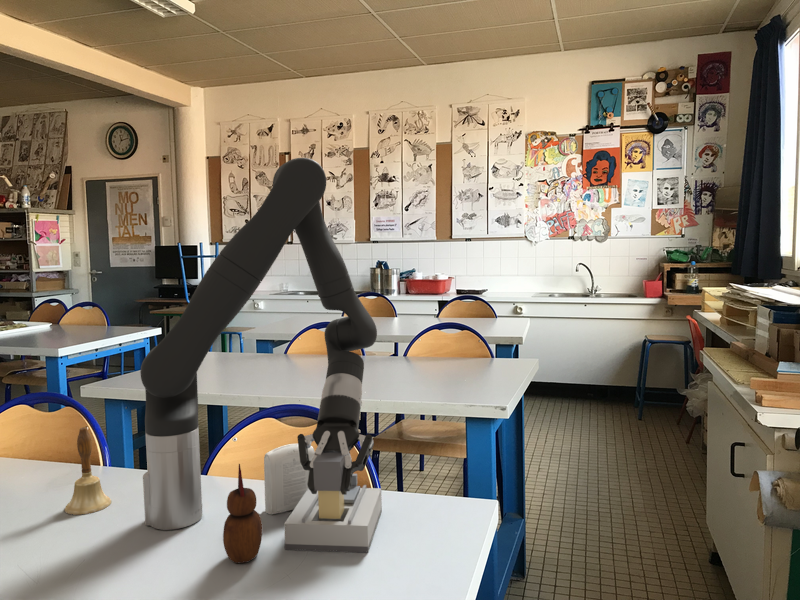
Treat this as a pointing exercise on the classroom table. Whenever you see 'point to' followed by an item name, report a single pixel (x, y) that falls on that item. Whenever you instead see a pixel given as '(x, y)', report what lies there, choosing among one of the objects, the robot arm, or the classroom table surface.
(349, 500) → the shutter
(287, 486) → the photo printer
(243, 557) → the wooden figurine
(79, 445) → the hand bell
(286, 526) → the socket
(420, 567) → the classroom table surface
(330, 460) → the plug
